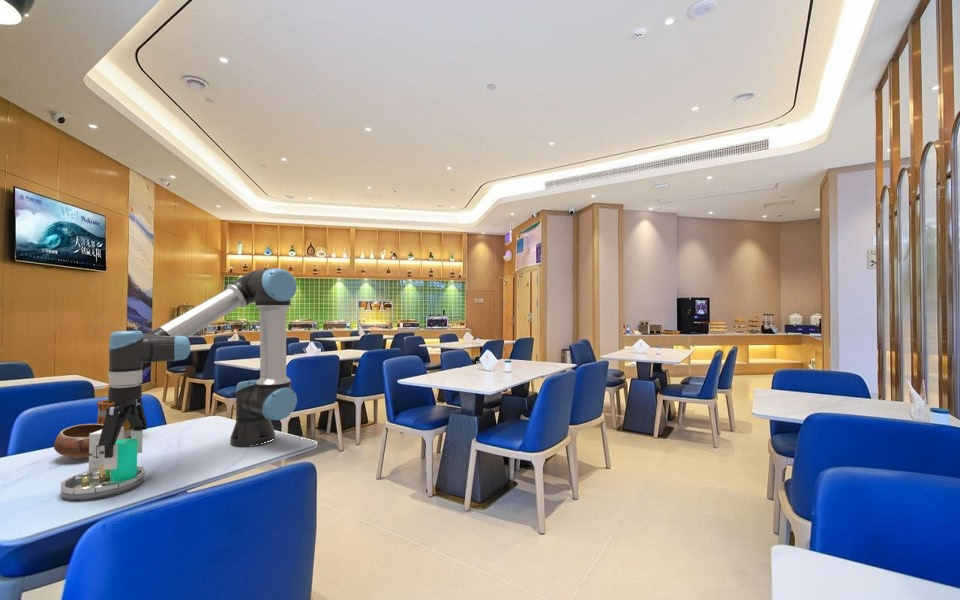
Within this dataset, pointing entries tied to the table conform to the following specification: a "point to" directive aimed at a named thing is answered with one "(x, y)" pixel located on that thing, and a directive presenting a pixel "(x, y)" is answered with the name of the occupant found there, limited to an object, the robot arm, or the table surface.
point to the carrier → (98, 485)
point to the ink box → (98, 449)
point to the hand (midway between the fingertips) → (124, 460)
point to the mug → (102, 415)
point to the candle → (125, 460)
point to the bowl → (75, 440)
